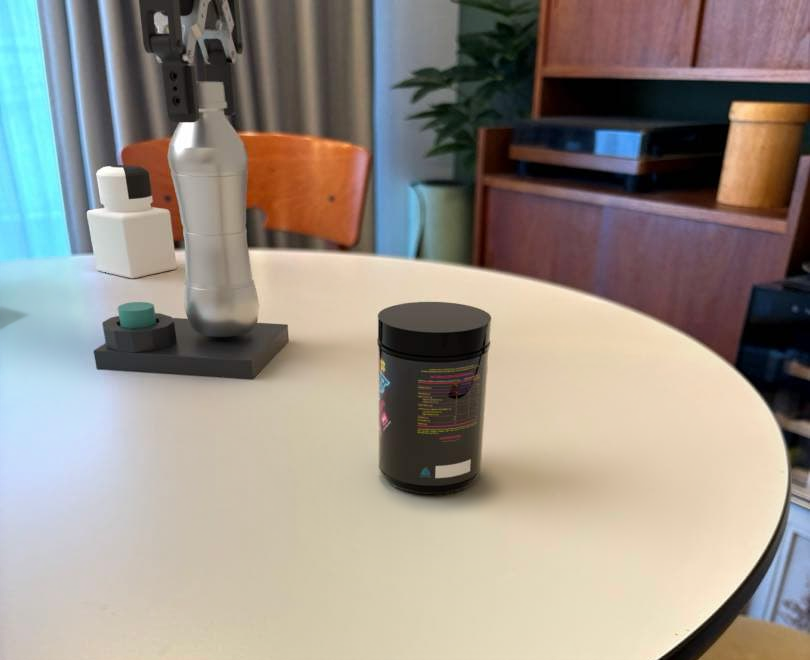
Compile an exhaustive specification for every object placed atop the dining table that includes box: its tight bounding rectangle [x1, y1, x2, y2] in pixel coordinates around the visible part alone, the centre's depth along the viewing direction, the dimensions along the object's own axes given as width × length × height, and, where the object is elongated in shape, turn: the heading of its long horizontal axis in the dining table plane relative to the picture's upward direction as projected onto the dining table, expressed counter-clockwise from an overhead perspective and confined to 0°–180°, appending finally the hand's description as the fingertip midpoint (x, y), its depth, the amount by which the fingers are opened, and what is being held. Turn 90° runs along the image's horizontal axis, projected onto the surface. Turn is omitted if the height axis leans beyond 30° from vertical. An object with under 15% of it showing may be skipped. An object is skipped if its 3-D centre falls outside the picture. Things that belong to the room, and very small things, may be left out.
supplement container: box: [376, 301, 492, 495], centre depth 51 cm, size 7×7×10 cm
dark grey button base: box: [93, 312, 290, 381], centre depth 74 cm, size 14×11×4 cm
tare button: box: [117, 301, 157, 328], centre depth 71 cm, size 3×3×2 cm
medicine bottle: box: [86, 164, 177, 279], centre depth 101 cm, size 7×7×12 cm
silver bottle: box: [167, 80, 260, 337], centre depth 70 cm, size 6×7×20 cm
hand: (204, 118), depth 66 cm, fingers open, 8 cm apart
